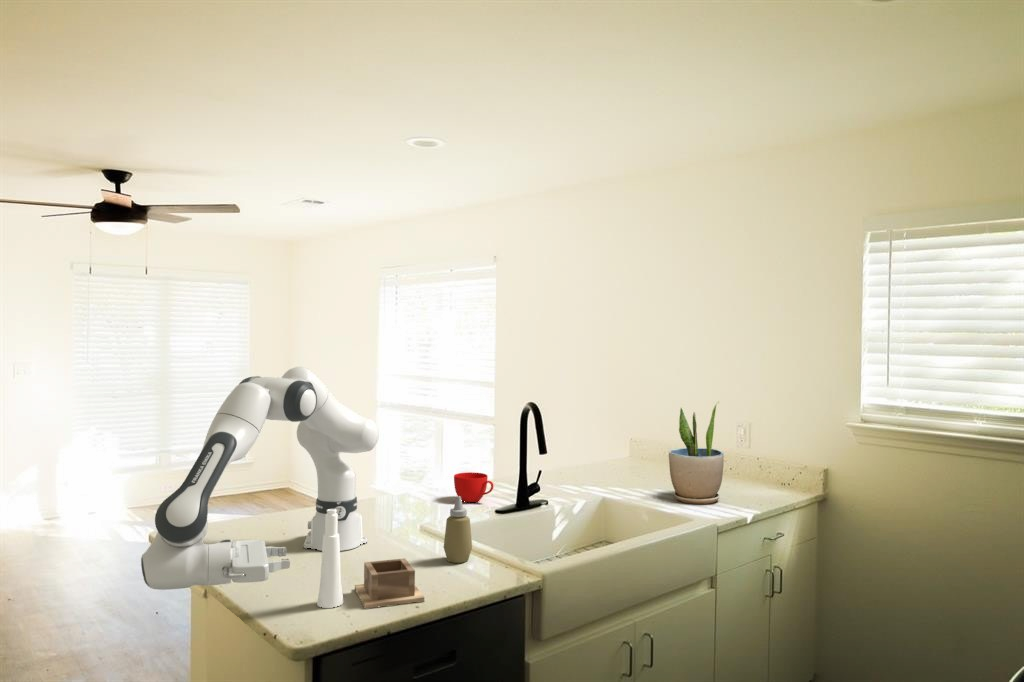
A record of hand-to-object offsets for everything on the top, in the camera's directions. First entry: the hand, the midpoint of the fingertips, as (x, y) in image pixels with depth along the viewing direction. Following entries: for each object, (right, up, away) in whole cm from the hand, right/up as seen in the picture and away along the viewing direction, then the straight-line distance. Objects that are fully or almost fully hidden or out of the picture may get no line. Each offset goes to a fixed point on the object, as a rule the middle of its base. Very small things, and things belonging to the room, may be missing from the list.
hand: (288, 557), depth 165 cm
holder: (+21, -12, +9) cm, 26 cm away
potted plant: (+124, -14, +120) cm, 173 cm away
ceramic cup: (+37, -12, +111) cm, 118 cm away
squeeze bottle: (+36, -12, +38) cm, 54 cm away
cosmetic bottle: (+9, -12, +3) cm, 15 cm away
